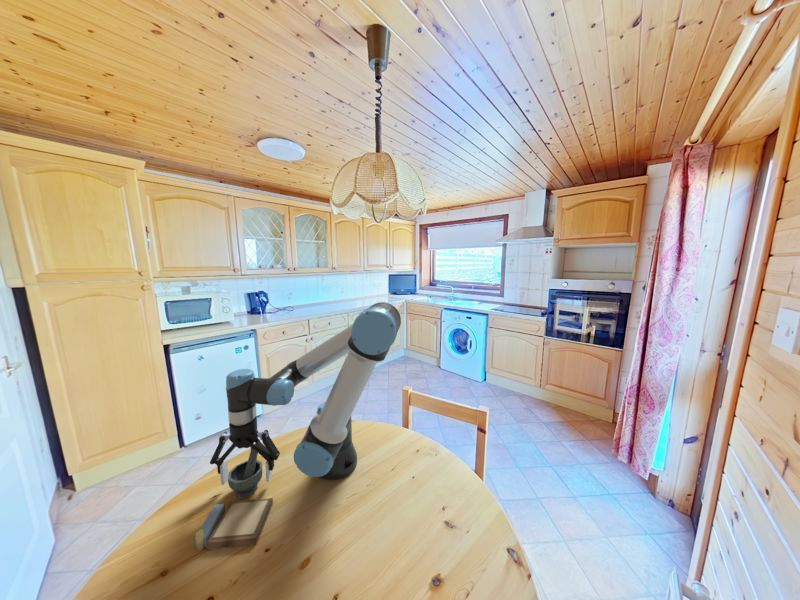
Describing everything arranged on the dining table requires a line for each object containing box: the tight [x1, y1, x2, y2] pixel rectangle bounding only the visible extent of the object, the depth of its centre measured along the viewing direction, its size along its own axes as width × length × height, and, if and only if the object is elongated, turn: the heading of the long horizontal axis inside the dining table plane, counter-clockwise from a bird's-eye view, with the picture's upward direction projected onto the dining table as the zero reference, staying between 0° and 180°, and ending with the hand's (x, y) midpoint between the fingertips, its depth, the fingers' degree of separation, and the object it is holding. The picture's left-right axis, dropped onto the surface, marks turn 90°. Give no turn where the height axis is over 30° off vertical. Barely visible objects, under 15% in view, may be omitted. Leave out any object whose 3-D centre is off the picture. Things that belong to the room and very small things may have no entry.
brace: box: [194, 502, 226, 552], centre depth 73 cm, size 11×2×4 cm, turn 9°
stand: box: [206, 497, 274, 551], centre depth 75 cm, size 12×12×2 cm
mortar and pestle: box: [227, 448, 263, 499], centre depth 87 cm, size 11×9×12 cm
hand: (247, 480), depth 87 cm, fingers open, 13 cm apart
